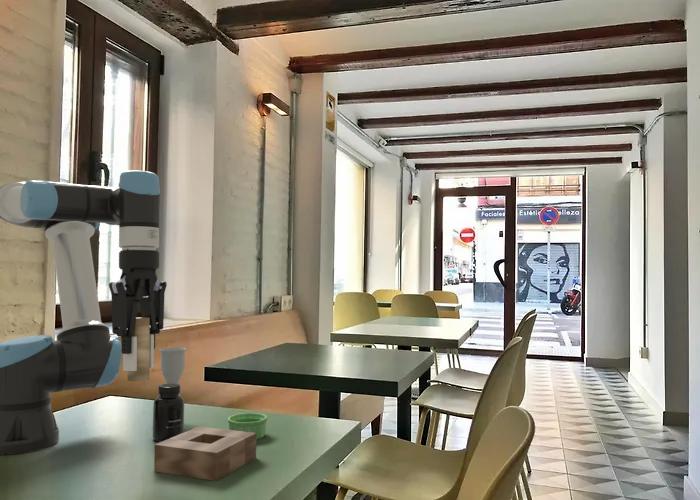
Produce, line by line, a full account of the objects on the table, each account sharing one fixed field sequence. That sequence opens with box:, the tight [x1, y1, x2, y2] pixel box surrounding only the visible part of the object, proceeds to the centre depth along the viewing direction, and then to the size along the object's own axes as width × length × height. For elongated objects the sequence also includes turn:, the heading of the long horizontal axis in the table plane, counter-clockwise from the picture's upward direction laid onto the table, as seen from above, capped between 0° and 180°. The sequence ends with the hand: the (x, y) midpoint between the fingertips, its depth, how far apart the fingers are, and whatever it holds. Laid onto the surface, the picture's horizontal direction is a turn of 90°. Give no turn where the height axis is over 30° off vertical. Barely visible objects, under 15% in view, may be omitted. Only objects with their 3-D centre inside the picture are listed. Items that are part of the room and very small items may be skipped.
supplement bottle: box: [152, 383, 185, 442], centre depth 133 cm, size 7×7×12 cm
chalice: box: [159, 346, 187, 384], centre depth 150 cm, size 7×7×18 cm
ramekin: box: [227, 412, 268, 441], centre depth 134 cm, size 9×9×4 cm
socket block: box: [153, 426, 257, 482], centre depth 115 cm, size 14×14×5 cm
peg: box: [127, 316, 150, 382], centre depth 114 cm, size 4×4×12 cm
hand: (138, 368), depth 114 cm, fingers closed on peg, 4 cm apart
